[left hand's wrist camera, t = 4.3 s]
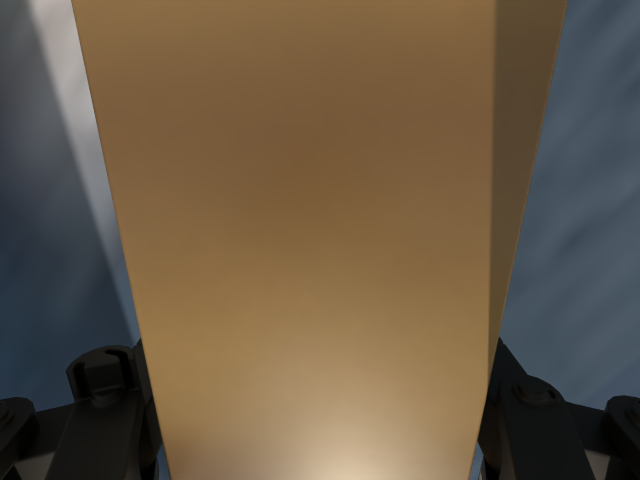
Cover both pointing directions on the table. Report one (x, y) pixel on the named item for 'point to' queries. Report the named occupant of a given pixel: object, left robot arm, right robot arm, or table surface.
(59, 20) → the table surface
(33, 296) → the table surface
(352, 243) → the beam
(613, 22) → the table surface
